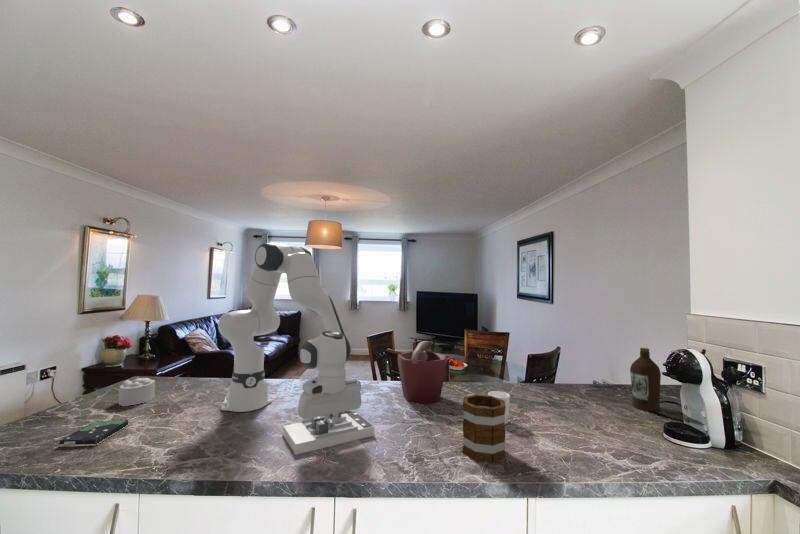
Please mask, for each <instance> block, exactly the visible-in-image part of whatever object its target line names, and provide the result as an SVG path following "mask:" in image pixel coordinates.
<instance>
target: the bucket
mask: <svg viewBox="0 0 800 534" xmlns="http://www.w3.org/2000/svg"><path fill="white" fill-rule="evenodd" d="M433 344H434V341H432V340H422V341H420V342H418V344H417V345H416V347H415V349H414V350H413V351H407V352H402V353H400V354H397V366H398V371H399V378H400V384H401V390H402V395H403V398H404V397H405V398H404V399H405V400H406V401H407V403H411V402H412V403H411V404H417V403H418V405H424V406H425V405H431V404H436V403H437V402H438V403H440V401H441V397H442V396H441V395H442V391H443V390H442V389H443V386H444V378H445V374H446V369H447V364H448V363H447V362H448V355H447V354H443V353H439V352H434V351H432V350H431V347H432V345H433ZM422 350H423V351H422Z"/></svg>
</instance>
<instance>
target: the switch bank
mask: <svg viewBox="0 0 800 534" xmlns="http://www.w3.org/2000/svg"><path fill="white" fill-rule="evenodd" d="M328 419H329V421H330V420H331V418H330V417H329V418H328ZM324 420H325V419H324ZM311 425H312V418H309V419H302V418H301V422H296V423H291V424H285V425H283V427H282V428H283V429H282V435H283V438H284V439H285V440H286V442H287V444H288V446H289V447H290V449H291V450H292V451H293V454H294V455H295V456H297V455H301V454H305V453H309V452H314V451H317V450H320V449H325V448H329V447H334V446H337V445H340V444H346V443H349V442H353V441H354V442H355V441H357V440H361V439H364V438H369V437H374V436H375V426H374V425H373V424H372V423H371V422H370V421H368V420H367V419H366V418H364V417H363V416H362V415H361V414H359V413H358V412H356V411H352V412H347V413H346V414H341V417H339V418H337V420H336V422H335V427H333V428H328V433H325V434H320V435H317V434H316V429H313V428H312V427H311Z"/></svg>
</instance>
